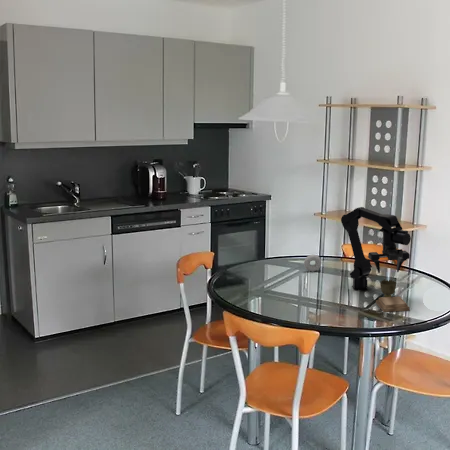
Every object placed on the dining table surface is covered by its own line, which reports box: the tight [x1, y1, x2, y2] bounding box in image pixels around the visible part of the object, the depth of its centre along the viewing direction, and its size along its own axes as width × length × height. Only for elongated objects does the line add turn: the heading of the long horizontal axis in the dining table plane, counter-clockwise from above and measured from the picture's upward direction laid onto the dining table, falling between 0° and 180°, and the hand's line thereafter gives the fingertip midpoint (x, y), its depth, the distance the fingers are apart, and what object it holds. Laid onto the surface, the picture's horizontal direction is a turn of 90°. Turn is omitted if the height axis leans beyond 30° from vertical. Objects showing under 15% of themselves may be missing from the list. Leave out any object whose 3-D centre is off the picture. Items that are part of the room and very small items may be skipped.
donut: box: [303, 254, 322, 273], centre depth 329 cm, size 10×4×10 cm, turn 97°
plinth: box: [375, 296, 411, 313], centre depth 271 cm, size 12×12×3 cm
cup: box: [379, 279, 397, 297], centre depth 283 cm, size 8×7×8 cm
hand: (388, 272), depth 282 cm, fingers open, 9 cm apart
